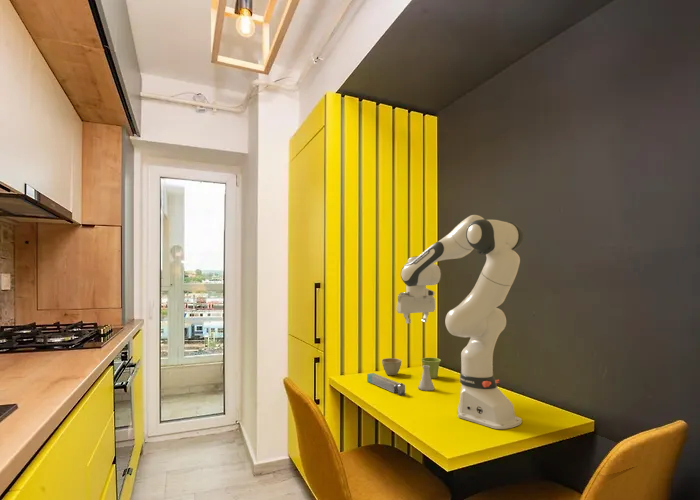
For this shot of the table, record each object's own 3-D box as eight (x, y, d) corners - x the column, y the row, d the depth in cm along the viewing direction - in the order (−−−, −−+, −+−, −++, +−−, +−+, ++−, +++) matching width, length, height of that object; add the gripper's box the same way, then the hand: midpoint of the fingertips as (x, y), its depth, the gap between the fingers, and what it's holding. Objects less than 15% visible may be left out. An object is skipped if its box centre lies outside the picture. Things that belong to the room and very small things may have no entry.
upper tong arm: (397, 392, 167) (397, 384, 167) (393, 393, 166) (393, 384, 167) (370, 380, 185) (370, 373, 185) (367, 381, 184) (367, 373, 185)
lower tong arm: (401, 391, 168) (401, 383, 169) (397, 392, 167) (397, 384, 168) (373, 380, 186) (373, 373, 186) (370, 380, 185) (370, 373, 185)
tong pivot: (406, 394, 165) (406, 383, 165) (400, 396, 163) (400, 384, 163) (401, 393, 167) (401, 382, 168) (395, 394, 166) (395, 383, 166)
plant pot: (440, 380, 188) (440, 362, 189) (420, 378, 191) (420, 360, 191) (441, 375, 197) (441, 358, 198) (422, 374, 200) (422, 357, 200)
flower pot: (377, 374, 199) (377, 360, 199) (390, 371, 206) (390, 357, 206) (392, 378, 192) (392, 363, 192) (405, 374, 198) (405, 360, 199)
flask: (433, 386, 177) (433, 364, 178) (435, 391, 170) (435, 368, 170) (417, 386, 178) (417, 364, 178) (418, 391, 170) (418, 367, 171)
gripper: (402, 292, 169) (402, 324, 169) (437, 292, 180) (437, 322, 179) (393, 292, 175) (393, 323, 174) (427, 291, 185) (428, 320, 185)
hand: (416, 322), depth 177 cm, fingers open, 8 cm apart
